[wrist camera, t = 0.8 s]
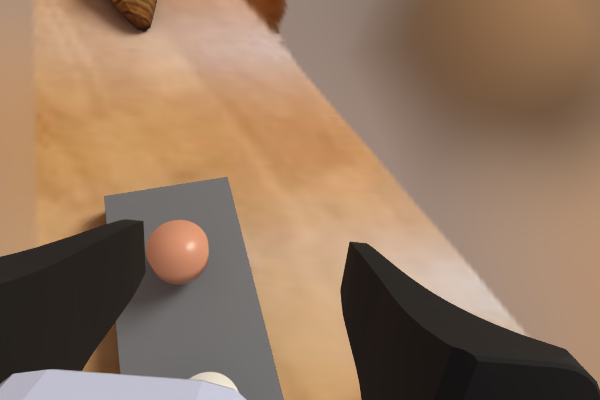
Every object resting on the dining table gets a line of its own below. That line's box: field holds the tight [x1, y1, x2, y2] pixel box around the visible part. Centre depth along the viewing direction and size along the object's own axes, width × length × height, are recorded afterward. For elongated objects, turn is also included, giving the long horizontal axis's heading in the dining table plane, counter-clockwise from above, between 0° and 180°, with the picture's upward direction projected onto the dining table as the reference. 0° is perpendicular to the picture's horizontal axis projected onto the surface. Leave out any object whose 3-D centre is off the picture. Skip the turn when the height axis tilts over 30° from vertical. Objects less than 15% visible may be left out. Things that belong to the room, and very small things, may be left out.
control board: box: [104, 177, 284, 400], centre depth 26 cm, size 24×10×2 cm, turn 18°
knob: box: [146, 220, 209, 285], centre depth 25 cm, size 4×4×5 cm
